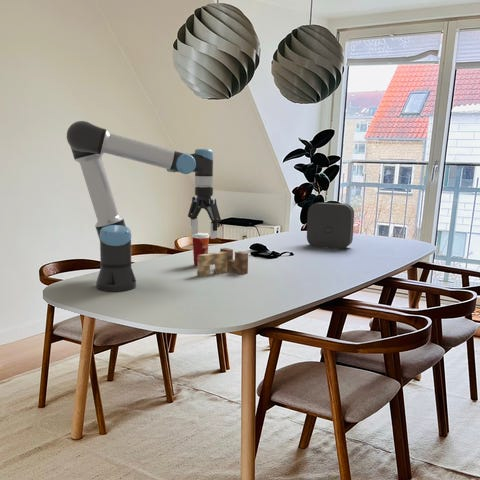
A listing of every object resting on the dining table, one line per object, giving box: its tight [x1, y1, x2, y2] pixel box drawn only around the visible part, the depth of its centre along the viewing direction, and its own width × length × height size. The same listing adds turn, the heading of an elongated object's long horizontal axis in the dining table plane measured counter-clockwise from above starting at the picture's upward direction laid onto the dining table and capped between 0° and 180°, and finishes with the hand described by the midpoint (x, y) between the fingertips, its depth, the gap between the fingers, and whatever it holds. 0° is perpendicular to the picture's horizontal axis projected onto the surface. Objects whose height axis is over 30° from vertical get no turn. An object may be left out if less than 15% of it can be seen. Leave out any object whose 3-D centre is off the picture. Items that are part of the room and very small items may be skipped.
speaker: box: [306, 202, 355, 250], centre depth 305 cm, size 25×9×25 cm, turn 67°
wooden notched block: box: [219, 247, 249, 275], centre depth 242 cm, size 16×3×9 cm, turn 40°
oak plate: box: [196, 251, 228, 278], centre depth 234 cm, size 14×3×9 cm, turn 130°
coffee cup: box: [191, 232, 210, 267], centre depth 250 cm, size 8×8×15 cm
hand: (203, 236), depth 229 cm, fingers open, 13 cm apart
